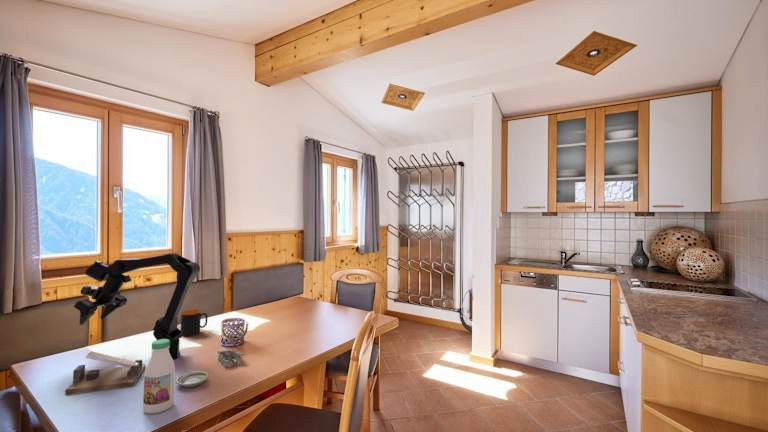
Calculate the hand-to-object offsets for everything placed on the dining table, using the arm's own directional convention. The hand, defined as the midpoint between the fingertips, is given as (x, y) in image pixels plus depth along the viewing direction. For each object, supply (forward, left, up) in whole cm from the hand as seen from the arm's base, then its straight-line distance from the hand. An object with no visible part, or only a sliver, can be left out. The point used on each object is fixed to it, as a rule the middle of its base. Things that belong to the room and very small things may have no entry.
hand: (91, 321), depth 134 cm
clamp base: (-14, +25, -14) cm, 32 cm away
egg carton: (-52, +21, -15) cm, 58 cm away
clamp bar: (-15, +25, -8) cm, 30 cm away
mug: (-34, -19, -14) cm, 42 cm away
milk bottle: (-34, +49, -14) cm, 61 cm away
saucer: (-41, +36, -15) cm, 56 cm away
